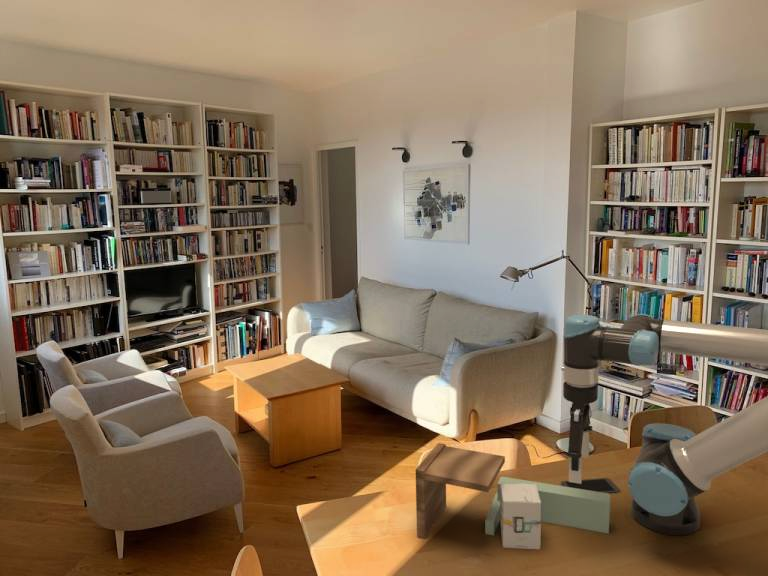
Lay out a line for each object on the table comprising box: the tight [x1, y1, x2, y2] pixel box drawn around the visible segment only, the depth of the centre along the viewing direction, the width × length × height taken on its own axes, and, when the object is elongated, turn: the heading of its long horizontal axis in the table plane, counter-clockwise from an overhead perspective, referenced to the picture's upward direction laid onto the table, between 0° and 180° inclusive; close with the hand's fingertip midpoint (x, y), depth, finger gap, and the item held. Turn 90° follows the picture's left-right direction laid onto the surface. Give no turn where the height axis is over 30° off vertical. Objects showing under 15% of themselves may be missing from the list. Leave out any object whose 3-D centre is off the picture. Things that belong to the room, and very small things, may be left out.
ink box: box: [499, 483, 542, 550], centre depth 134 cm, size 8×8×12 cm
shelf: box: [415, 442, 506, 540], centre depth 138 cm, size 17×15×17 cm
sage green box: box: [484, 476, 611, 536], centre depth 138 cm, size 27×14×8 cm, turn 68°
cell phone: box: [560, 477, 621, 494], centre depth 156 cm, size 7×14×1 cm, turn 95°
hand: (579, 468), depth 137 cm, fingers open, 13 cm apart
